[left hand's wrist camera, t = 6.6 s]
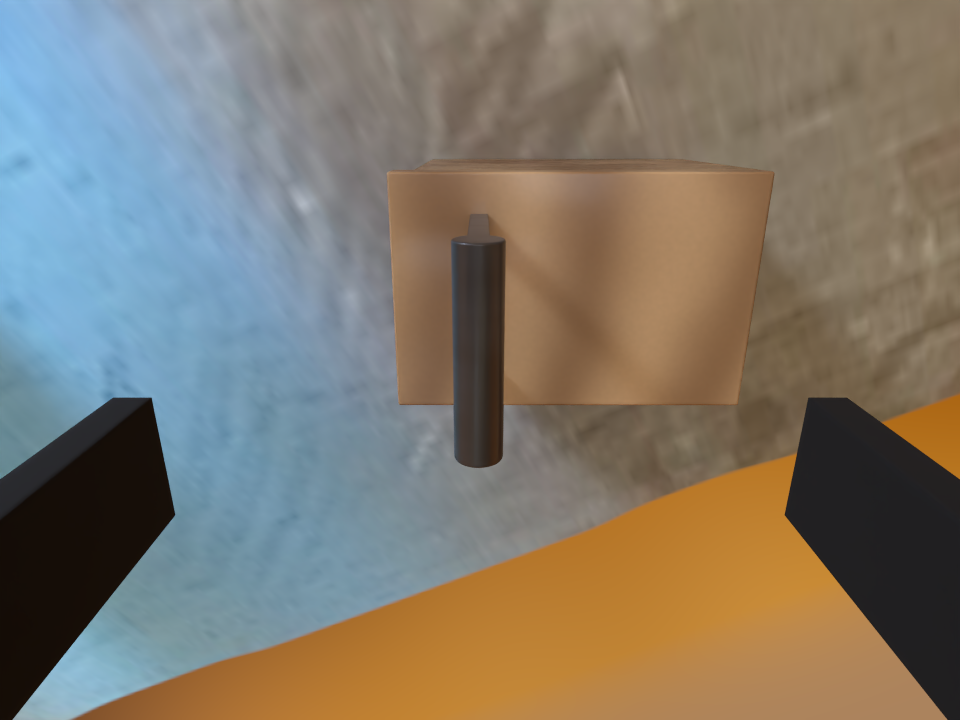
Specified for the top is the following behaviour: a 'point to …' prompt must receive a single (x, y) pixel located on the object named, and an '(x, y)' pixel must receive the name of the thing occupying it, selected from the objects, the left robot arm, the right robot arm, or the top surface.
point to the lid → (571, 289)
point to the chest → (572, 164)
